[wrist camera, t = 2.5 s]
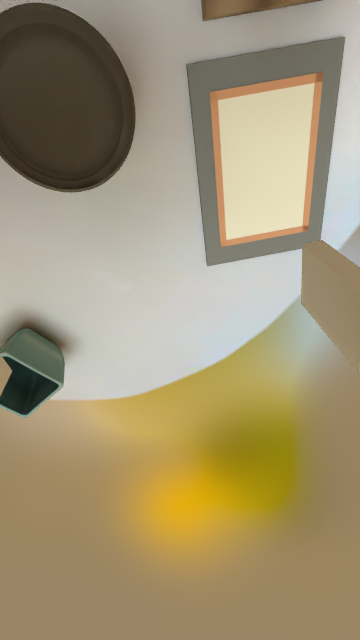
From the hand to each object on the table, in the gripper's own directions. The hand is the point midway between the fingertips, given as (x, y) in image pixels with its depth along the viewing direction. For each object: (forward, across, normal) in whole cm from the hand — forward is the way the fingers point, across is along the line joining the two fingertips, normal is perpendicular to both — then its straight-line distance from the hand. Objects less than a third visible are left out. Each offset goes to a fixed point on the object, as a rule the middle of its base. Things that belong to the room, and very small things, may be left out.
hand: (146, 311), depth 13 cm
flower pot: (+29, -22, -19) cm, 42 cm away
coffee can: (+29, -4, +8) cm, 30 cm away
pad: (+29, +15, -2) cm, 33 cm away
